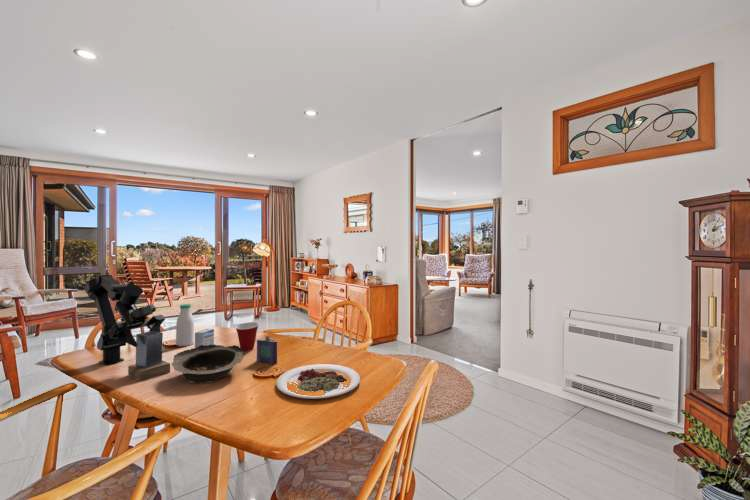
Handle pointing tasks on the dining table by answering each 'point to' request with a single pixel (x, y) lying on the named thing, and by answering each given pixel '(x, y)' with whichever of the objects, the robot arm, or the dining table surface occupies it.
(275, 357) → the flask
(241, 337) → the plastic cup
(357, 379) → the plated food
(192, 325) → the milk bottle
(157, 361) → the slate tin
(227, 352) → the stone bowl
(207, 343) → the medicine box
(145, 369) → the walnut block
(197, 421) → the dining table surface
